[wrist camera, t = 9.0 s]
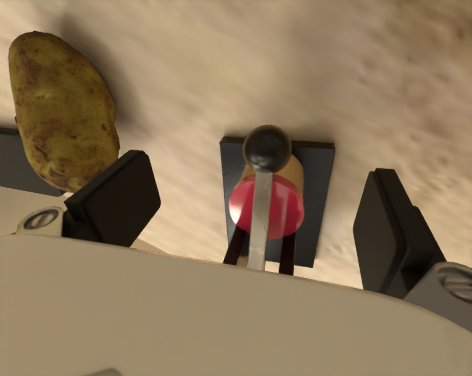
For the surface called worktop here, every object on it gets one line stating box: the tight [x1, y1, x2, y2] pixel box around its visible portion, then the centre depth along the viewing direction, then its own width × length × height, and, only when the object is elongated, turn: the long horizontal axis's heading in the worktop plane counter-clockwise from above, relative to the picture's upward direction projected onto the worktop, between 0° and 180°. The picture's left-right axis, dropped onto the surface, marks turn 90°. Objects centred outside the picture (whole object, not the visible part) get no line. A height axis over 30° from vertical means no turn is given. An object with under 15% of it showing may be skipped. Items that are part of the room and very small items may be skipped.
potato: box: [8, 31, 120, 193], centre depth 22 cm, size 8×13×8 cm, turn 176°
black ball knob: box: [243, 125, 292, 271], centre depth 17 cm, size 14×3×3 cm
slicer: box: [220, 137, 335, 276], centre depth 22 cm, size 15×10×14 cm, turn 3°
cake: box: [229, 154, 305, 239], centre depth 22 cm, size 6×6×5 cm
